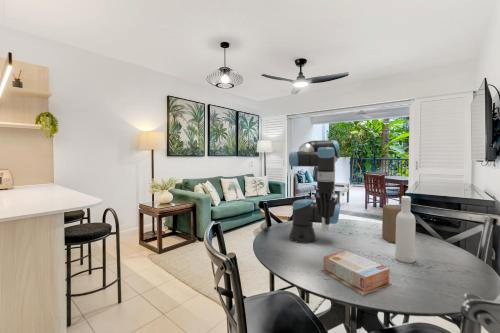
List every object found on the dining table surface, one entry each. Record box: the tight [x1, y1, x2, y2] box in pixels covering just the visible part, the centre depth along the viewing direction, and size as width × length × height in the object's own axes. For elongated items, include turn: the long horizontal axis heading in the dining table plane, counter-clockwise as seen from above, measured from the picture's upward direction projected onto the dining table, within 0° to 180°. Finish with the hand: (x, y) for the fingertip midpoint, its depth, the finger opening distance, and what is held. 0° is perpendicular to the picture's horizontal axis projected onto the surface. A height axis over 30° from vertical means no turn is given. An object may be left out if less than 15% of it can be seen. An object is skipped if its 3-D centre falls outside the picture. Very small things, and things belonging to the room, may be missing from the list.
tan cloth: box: [323, 270, 393, 296], centre depth 99 cm, size 19×16×1 cm
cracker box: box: [323, 249, 390, 292], centre depth 99 cm, size 14×6×21 cm
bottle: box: [394, 195, 417, 264], centre depth 115 cm, size 8×8×30 cm
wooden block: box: [381, 204, 401, 244], centre depth 142 cm, size 10×10×20 cm
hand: (325, 230), depth 114 cm, fingers closed
